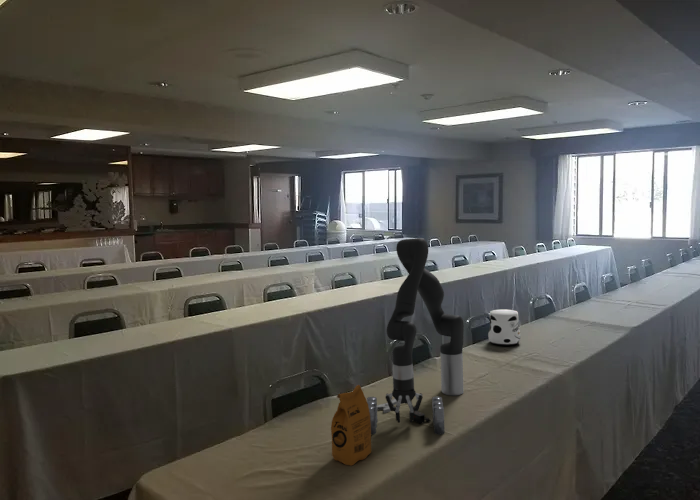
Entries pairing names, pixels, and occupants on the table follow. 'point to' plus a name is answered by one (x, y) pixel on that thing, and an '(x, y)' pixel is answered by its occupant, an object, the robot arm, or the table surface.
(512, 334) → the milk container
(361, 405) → the coffee package
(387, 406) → the adjustable wrench
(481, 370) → the table surface
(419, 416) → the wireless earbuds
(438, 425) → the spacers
